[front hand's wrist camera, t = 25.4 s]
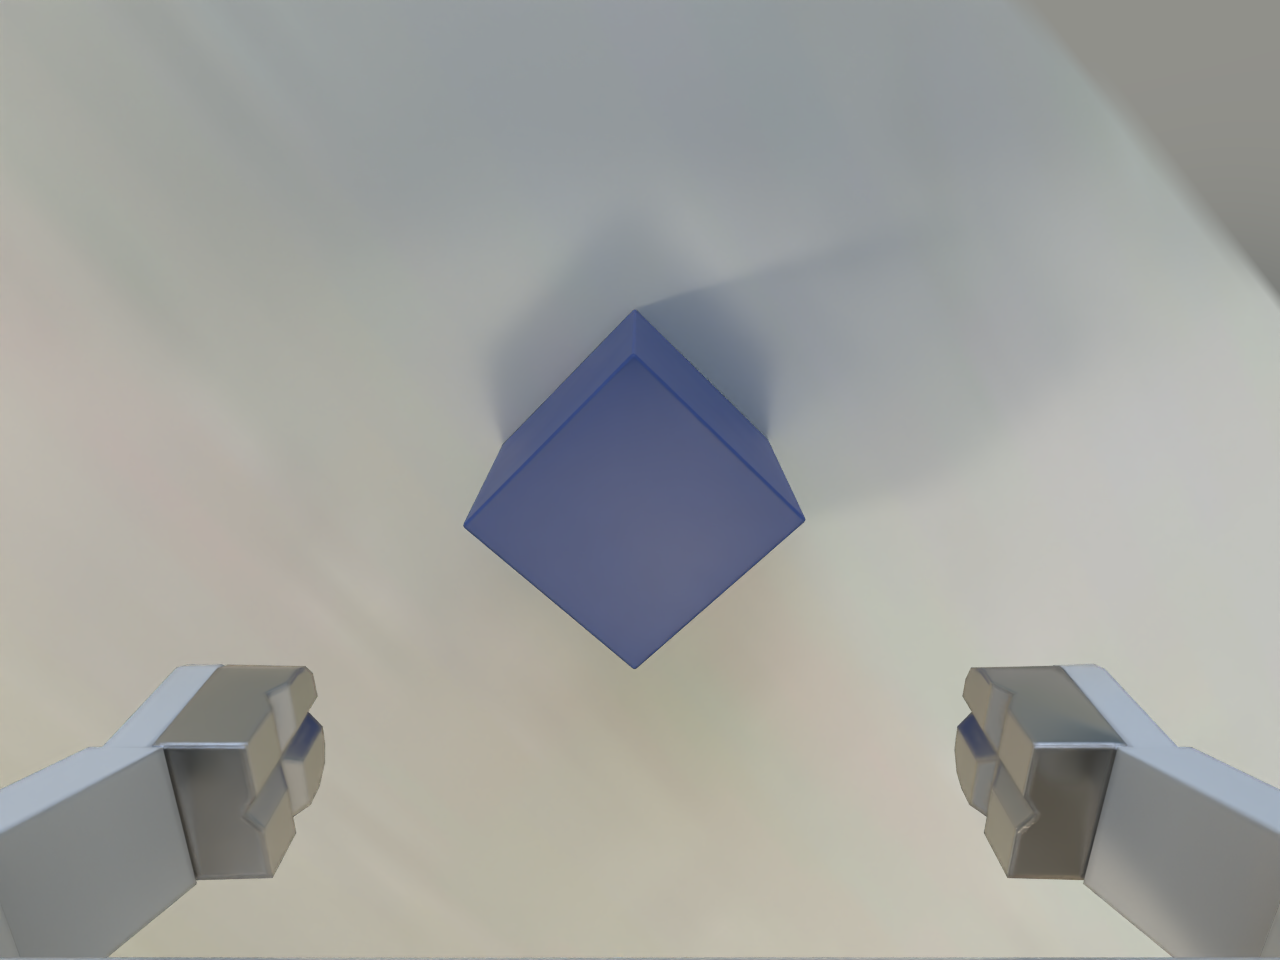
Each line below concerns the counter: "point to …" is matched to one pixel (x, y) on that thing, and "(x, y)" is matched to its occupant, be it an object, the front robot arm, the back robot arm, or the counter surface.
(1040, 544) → the counter surface
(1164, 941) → the front robot arm
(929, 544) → the counter surface
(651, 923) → the counter surface
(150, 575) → the counter surface
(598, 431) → the block
